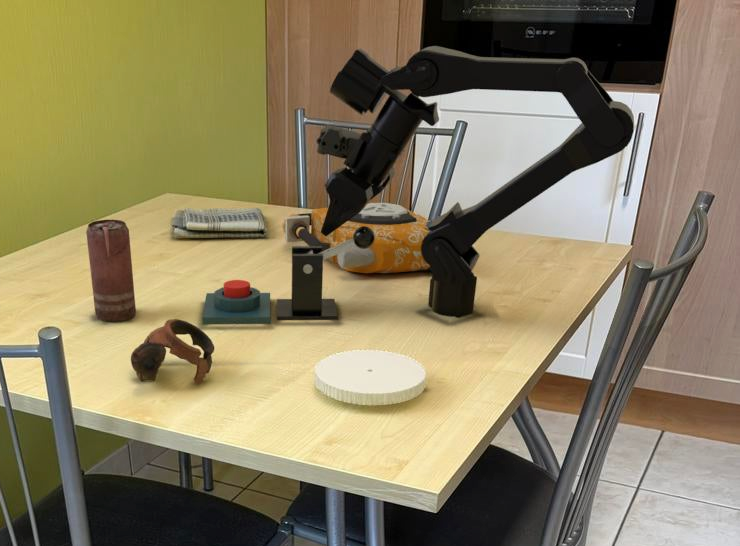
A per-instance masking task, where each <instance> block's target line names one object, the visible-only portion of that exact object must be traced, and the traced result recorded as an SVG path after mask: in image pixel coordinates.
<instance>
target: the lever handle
mask: <svg viewBox="0 0 740 546" xmlns="http://www.w3.org/2000/svg"><path fill="white" fill-rule="evenodd" d="M374 240H375V234H374V232H373V230H372V229H371V228H369V227H366V226H362V227H359V228H358V229H356V231H355V232H354V234H353V238H352V239H349V240H347V241H345V242H343V243H340V244H338V245H336V246H334V247H331V248H329V249H327V250H325V251H322V252H320V253H318V254H323V261H325V260H327V259H329V258H330V257H332V256H334V255H337V254H339V253H341V252H343V251H346V250H348V249H350V248H352V247H355V246H357V247H358V248H360V249H367V248H369V247H371V246H372V244H373V243H374ZM304 254H314V252H313V250H311V251H308V252H306V253H304Z"/></svg>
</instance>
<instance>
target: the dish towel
mask: <svg viewBox="0 0 740 546" xmlns="http://www.w3.org/2000/svg"><path fill="white" fill-rule="evenodd" d="M170 226H171V228H172V227H173V228H174V231H173V233H174V236H173V238H174V239H217V238H235V239H236V238H238V239H240V238H241V239H242V238H246V239H248V238H251V239H252V238H253V239H254V238H264V237H267V235H268V234H269V230H268V229H267V221H266V218H265V215H264V213H263V212H262V210H261V208H259V207H251V208H250V207H249V208H228V209H227V208H202V209H201V208H200V209H194V208H189V207H185V208H184V210H181V209H176V210H175V213H174V217H173V220H172V222H171V223H170Z"/></svg>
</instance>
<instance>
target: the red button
mask: <svg viewBox="0 0 740 546" xmlns="http://www.w3.org/2000/svg"><path fill="white" fill-rule="evenodd" d="M250 287H251V283H250V282H249V281H248V280H245V279H231V280H228V281H225V282H224V283H223V288H224V296H225V297H229V298H244V297H248V296H250Z"/></svg>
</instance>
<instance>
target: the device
mask: <svg viewBox="0 0 740 546" xmlns="http://www.w3.org/2000/svg"><path fill="white" fill-rule="evenodd" d="M327 211H328V207H322V208H312V210H311V212H309V213H308V212H307V213H290V214H288V215H286V216H285V217H284V218H283V220H282V223H281V226H282V231H283V233H284V241H285V242H286V243H296V242H305V244H307V246H322V251H325V250H327V249H329V248H331V247H334V246H336V245H338V244H340V243H343V242H345V241H347V240H349V239H352V238H353V234H354V232H355V231H356V229H358V228H359V227H362V226H366V227H369V228H371V229H372V230H373V232H374V234H375V240H374V243H373V244H372V246H371V247H369V248H367V249H360V248H358V247H357V246H355V247H352V248H350V249H348V250H346V251H343V252H341V253H339V254H337V255H334V256H332V257H330V258H328V259H329V260H330V261H332V263H334V264H338V266H339V267H340V268H341V269H344V270H345V271H348V272H352V273H353V272H355V273H362V274H373V273H375V274H391V273H407V272H416V271H417V272H418V271H430V272H431V273H432V270H431V266H430V265H428V263H427V262H426V261H425V260H424V258H423V256H422V254H421V244H422V241H423V239H424V237H425V236H426V235H427V233H428V232H429V231H430V230H428V227H429V226H430V225H431V223H432V222H433V221H431V220H429V219H427V218H425V216H423V215H421V214H416V213H415V212H413V211H411V210H409V209H407V208H405V207H404V206H402V205H401V204H397V203H396V204H395V203H389V202H368V203H367V205H366V206H365V207H364V209H363V210H362V211H361V212H360V213H358V214H357V215H355V216H354V217H353V218H351V219H350V220H348V221H347V222H346V223H344V224H343V225H341V226H340V227H339V228H337V229H336V230H335V231H333V232H332V233H330V234H329V235H328V236H325V235H323V234H322V233H321V229H322V226H323V223H324V220H325V217H326V214H327Z"/></svg>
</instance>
